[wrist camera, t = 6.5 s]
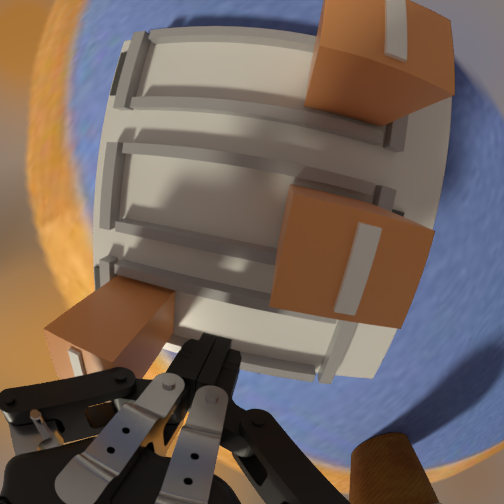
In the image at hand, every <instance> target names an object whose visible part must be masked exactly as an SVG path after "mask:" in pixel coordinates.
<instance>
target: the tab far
mask: <svg viewBox="0 0 504 504" xmlns="http://www.w3.org/2000/svg"><path fill="white" fill-rule="evenodd" d="M175 292H176V291H175V290H171V289H167V288H164V287H160V286H156V285H152V284H149V283H145V282H142V281H138V280H134V279H131V278H128V277H124V276H121V275H118V276H116V277H115V278H113V279H112V280H110V281H109V282H107V283H106V284H105V285H103V286H102V287H100V288H99V289H97V290H96V291H94V292H93V293H92V294H90V295H89V296H87V297H86V298H84V299H83V300H82V301H80V302H79V303H77V304H76V305H75V306H73V307H72V308H70V309H69V310H68V311H66V312H65V313H64V314H62V315H61V316H60V317H58V318H57V319H56V320H54V321H53V322H52V323H50V324H49V325H48V326H46V327H45V328H44V332H45V336H46V340H47V344H48V348H49V351H50V354H51V357H52V361H53V364H54V367H55V370H56V373H57V376H58V377H60V378H62V379H67V378H72V377H76V376H81V375H86V374H90V373H94V372H99V371H103V370H107V369H111V368H115V367H124V368H127V369H130V370H131V371H132V372H133V373H134V374H135V377H136V378H138V379H142V378H143V377H144V375H145V374H146V372H147V371H148V369H149V368H150V366H151V365H152V363H153V362H154V360H155V359H156V357H157V356H158V354H159V353H160V351H161V350H162V348H163V347H164V345H165V344H166V343H167V341H168V340H169V338H170V337H171V335H172V334H173V332H174V309H175ZM108 402H110V401H108Z"/></svg>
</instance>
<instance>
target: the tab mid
mask: <svg viewBox="0 0 504 504" xmlns="http://www.w3.org/2000/svg"><path fill="white" fill-rule="evenodd" d="M434 234H435V231H434V230H432V229H430V228H427V227H425V226H423V225H421V224H418V223H416V222H414V221H412V220H409V219H407V218H405V217H402V216H400V215H398V214H395V213H393V212H390V211H388V210H386V209H383V208H381V207H378V206H376V205H373V204H371V203H368V202H365V201H361V200H357V199H353V198H349V197H345V196H341V195H337V194H333V193H329V192H325V191H320V190H316V189H311V188H307V187H302V186H297V185H293V184H290V185H289V190H288V195H287V201H286V206H285V211H284V216H283V221H282V225H281V230H280V235H279V240H278V246H277V254H276V261H275V269H274V276H273V283H272V290H271V297H270V304H269V307H273V308H278V309H283V310H288V311H293V312H299V313H304V314H309V315H315V316H320V317H326V318H332V319H338V320H344V321H350V322H356V323H363V324H369V325H376V326H383V327H390V328H397V329H401V327H402V324H403V322H404V320H405V317H406V315H407V313H408V310H409V308H410V305H411V303H412V300H413V298H414V295H415V292H416V290H417V287H418V284H419V282H420V279H421V276H422V273H423V270H424V267H425V264H426V261H427V258H428V254H429V251H430V248H431V244H432V241H433V237H434Z"/></svg>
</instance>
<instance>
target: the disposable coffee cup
mask: <svg viewBox="0 0 504 504" xmlns="http://www.w3.org/2000/svg"><path fill="white" fill-rule="evenodd" d="M349 502H350V503H351V504H441V503H439V501H438V499H437V497H436V494H435V492H434V491H433V488H432V486H431V483H430V482H429V479H428V477H427V475H426V473H425V471H424V469H423V467H422V465H421V463H420V461H419V459H418V457H417V455H416V453H415V451H414V449H413V447H412V445H411V443H410V441H409V439H408V437H407V436H406V435H405V434H403V433H387V434H383V435H379V436H376V437H374V438H371V439H369V440H367V441H365V442H363V443H362V444H360V445H359V446H358V447H357V448H356V449H355V450H354V451H353V452H352V454H351V474H350V492H349Z"/></svg>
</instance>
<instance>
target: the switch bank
mask: <svg viewBox="0 0 504 504" xmlns="http://www.w3.org/2000/svg"><path fill="white" fill-rule="evenodd" d="M315 41H316V36H312V35H307V34H301V33H295V32H289V31H282V30H274V29H264V28H253V27H235V26H194V27H177V28H165V29H156V30H151V32H150V35H149V34H148V33H147V32H146V31H141V32H135V33H133V36H132V39H131V40H128V41H124V44H123V47H122V51H121V54H120V57H119V60H118V64H117V67H116V71H115V74H114V78H113V82H112V86H111V90H110V94H109V99H108V103H107V108H106V113H105V118H104V124H103V129H102V135H101V142H100V149H99V156H98V165H97V174H96V185H95V199H94V221H93V261H94V283H95V291H96V290H97V289H99V288H100V287H102V286H103V285H105V284H106V283H107V282H109V281H110V280H112V279H113V278H115V277H116V276H118V275H121V276H124V277H128V278H131V279H134V280H138V281H142V282H145V283H149V284H152V285H156V286H160V287H164V288H167V289H171V290H175V291H176V292H175V309H174V332H173V334H172V335H171V337H170V338H169V340H168V341H167V343H166V344H165V345H164V347H163V349H166V350H169V351H172V352H176V353H178V352H179V351H180V349H181V347H182V346H183V344H184V343H185V342H187V341H188V340H190V339H195V340H199V339H200V337H201V336H202V334H203V332H206V333H209V334H213V335H217V336H221V337H225V338H229V339H232V345H231V349H233V350H237V351H240V354H241V357H242V360H241V365H240V369H242V370H246V371H251V372H256V373H261V374H266V375H272V376H277V377H283V378H289V379H296V380H302V381H309V382H313V380H314V378H315V372H316V373H318V381H319V383H325V384H331V382H332V380H333V378H334V376H335V375H340V376H349V377H360V378H372V379H373V377H374V375H375V374H376V372H377V370H378V368H379V366H380V364H381V362H382V360H383V358H384V356H385V354H386V352H387V350H388V348H389V346H390V344H391V342H392V340H393V338H394V335H395V333H396V331H397V328H390V327H383V326H376V325H369V324H363V323H356V322H350V321H344V320H338V319H332V318H326V317H320V316H315V315H309V314H304V313H299V312H293V311H288V310H283V309H278V308H273V307H269V304H270V297H271V290H272V283H273V276H274V269H275V261H276V254H277V246H278V240H279V235H280V230H281V225H282V221H283V216H284V211H285V206H286V201H287V195H288V190H289V185H290V184H293V185H297V186H302V187H307V188H311V189H316V190H320V191H325V192H329V193H333V194H337V195H341V196H345V197H349V198H353V199H357V200H361V201H365V202H368V203H371V204H373V205H376V206H378V207H381V208H383V209H386V210H388V211H390V212H393V213H395V214H398V215H400V216H402V217H405V218H407V219H409V220H412V221H414V222H416V223H418V224H421V225H423V226H425V227H427V228H430V229H433V225H434V221H435V217H436V213H437V209H438V204H439V200H440V195H441V190H442V184H443V179H444V173H445V167H446V160H447V153H448V144H449V135H450V123H451V107H452V97H449V98H446V99H444V100H442V101H439V102H437V103H434V104H432V105H429V106H427V107H425V108H422V109H420V110H418V111H415V112H413V113H411V114H408V115H406V116H404V117H402V118H399V119H397V120H395V121H393V122H390V123H388V124H386V125H384V126H382V127H379V126H376V125H373V124H369V123H366V122H363V121H359V120H356V119H352V118H349V117H345V116H341V115H338V114H334V113H329V112H325V111H321V110H317V109H312V108H307V107H304V104H305V98H306V92H307V86H308V80H309V74H310V68H311V61H312V55H313V51H314V46H315Z"/></svg>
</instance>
